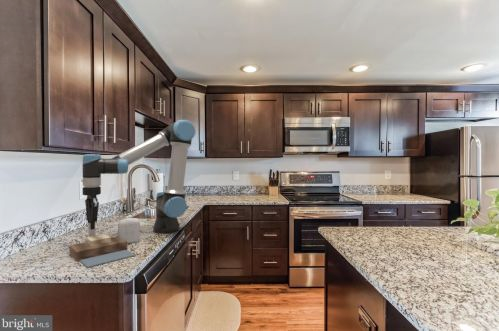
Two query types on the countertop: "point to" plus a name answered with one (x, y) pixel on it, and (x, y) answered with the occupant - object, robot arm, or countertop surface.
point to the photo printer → (129, 230)
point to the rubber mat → (106, 258)
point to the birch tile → (98, 240)
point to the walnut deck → (96, 249)
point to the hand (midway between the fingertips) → (91, 235)
